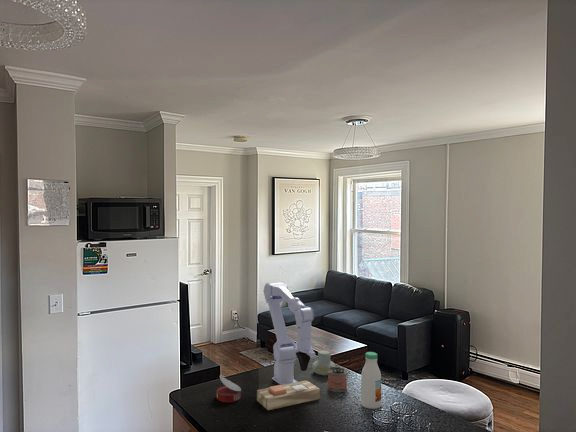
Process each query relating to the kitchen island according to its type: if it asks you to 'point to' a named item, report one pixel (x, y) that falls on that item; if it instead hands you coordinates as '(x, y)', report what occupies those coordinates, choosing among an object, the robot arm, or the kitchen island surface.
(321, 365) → the pale green jug
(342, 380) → the lighter
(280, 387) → the terracotta button
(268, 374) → the kitchen island surface
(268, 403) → the button panel
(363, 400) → the milk bottle
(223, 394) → the canned food
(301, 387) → the grey button
